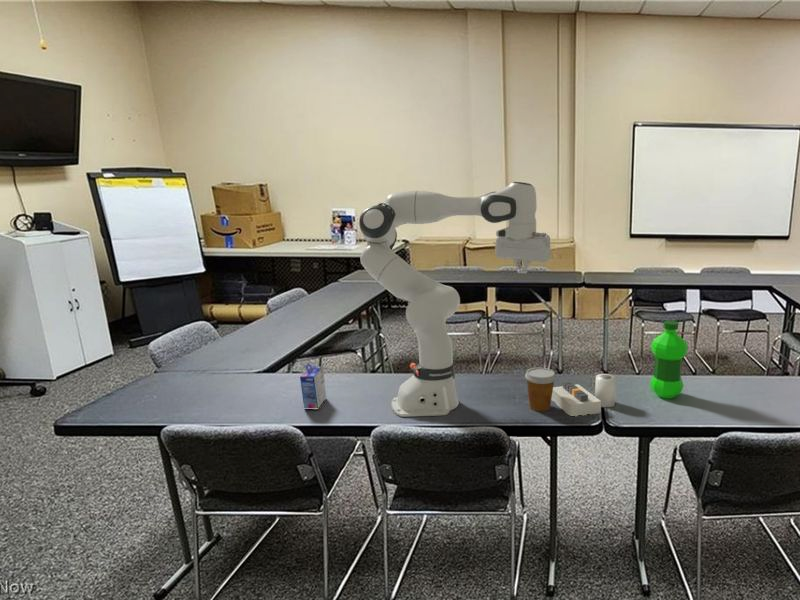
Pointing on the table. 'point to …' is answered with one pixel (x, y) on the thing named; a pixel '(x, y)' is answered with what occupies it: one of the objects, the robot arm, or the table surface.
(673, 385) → the plastic bottle
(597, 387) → the white hollow cylinder
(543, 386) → the disposable coffee cup
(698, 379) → the table surface
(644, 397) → the table surface
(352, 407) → the table surface
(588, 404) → the power strip
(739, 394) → the table surface
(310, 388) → the ink cartridge box
